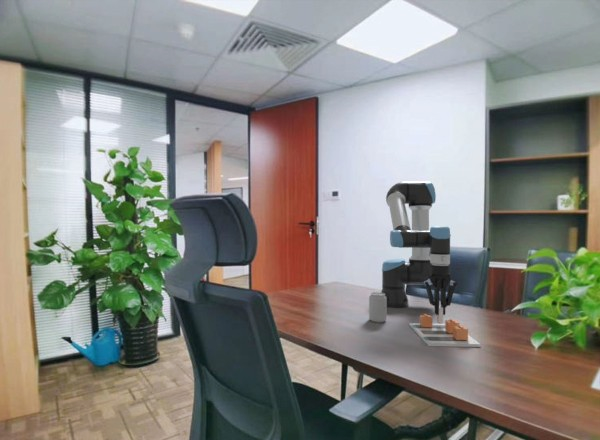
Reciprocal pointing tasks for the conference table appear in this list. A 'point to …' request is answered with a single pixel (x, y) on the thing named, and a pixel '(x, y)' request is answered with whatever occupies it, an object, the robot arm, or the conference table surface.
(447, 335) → the panel
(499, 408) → the conference table surface
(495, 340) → the conference table surface
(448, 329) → the tab
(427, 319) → the orange small block
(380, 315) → the can
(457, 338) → the tab
